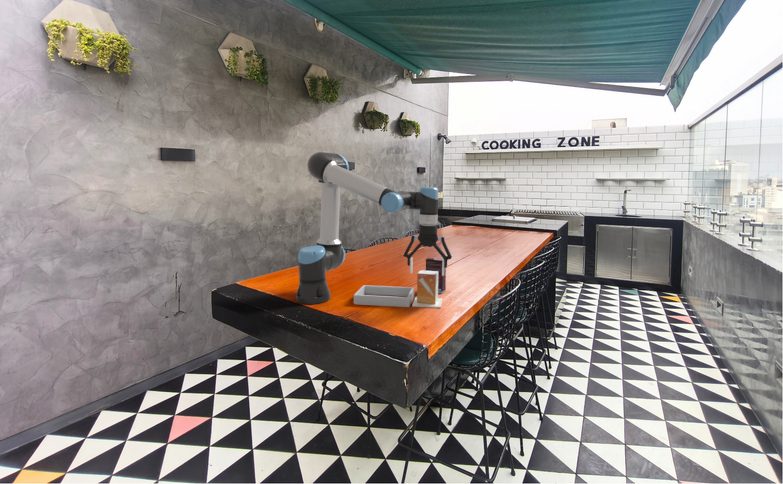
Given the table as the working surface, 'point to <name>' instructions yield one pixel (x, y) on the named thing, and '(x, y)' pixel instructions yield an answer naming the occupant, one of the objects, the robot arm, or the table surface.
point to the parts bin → (384, 300)
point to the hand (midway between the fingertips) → (426, 274)
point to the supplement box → (436, 265)
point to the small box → (427, 287)
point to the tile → (437, 305)
